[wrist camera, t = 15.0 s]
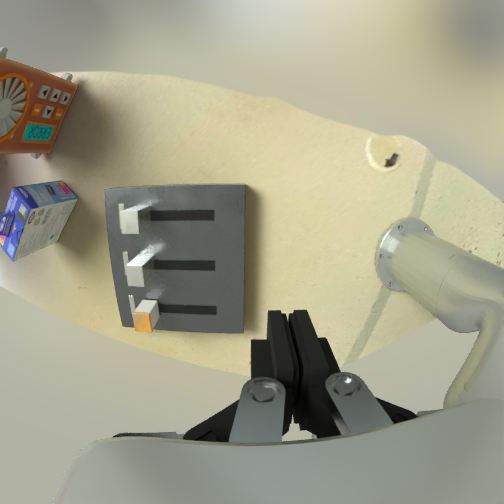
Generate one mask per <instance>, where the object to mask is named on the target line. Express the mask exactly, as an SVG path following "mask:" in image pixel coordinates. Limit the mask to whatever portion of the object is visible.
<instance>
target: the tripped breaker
mask: <svg viewBox="0 0 504 504" xmlns="http://www.w3.org/2000/svg"><path fill="white" fill-rule="evenodd" d="M132 316H133V321H134V326H135V331H138V332H148V333H152V331H153V328H154V326H155V324H156V323H157V321H158V319H159V317H160V316H159V309H158V302H157V301H155V300H142V301H141V303H140V304H139V306H138V307H137V308H136V310H135V311H134V312H133V313H132Z"/></svg>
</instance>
